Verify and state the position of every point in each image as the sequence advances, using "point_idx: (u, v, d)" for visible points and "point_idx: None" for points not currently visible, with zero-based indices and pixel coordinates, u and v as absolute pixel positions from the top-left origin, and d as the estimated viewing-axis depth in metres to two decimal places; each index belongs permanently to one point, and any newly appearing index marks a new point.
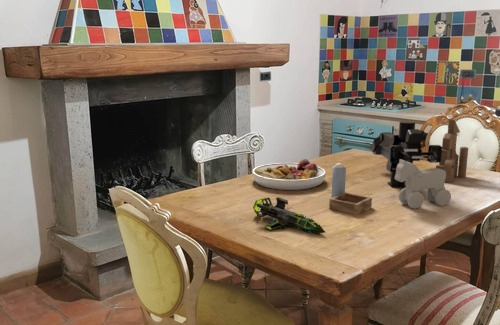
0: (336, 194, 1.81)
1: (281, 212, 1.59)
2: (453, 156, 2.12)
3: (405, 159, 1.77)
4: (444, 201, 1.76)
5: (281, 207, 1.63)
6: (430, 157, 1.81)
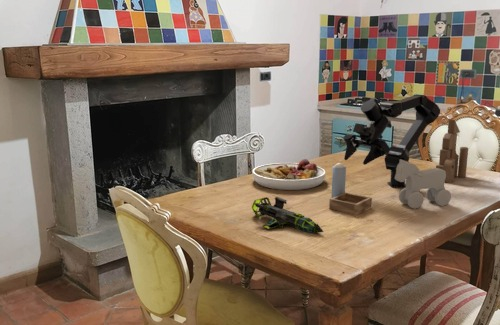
0: (336, 194, 1.81)
1: (279, 211, 1.59)
2: (453, 156, 2.12)
3: None
4: (444, 201, 1.76)
5: (279, 207, 1.64)
6: None
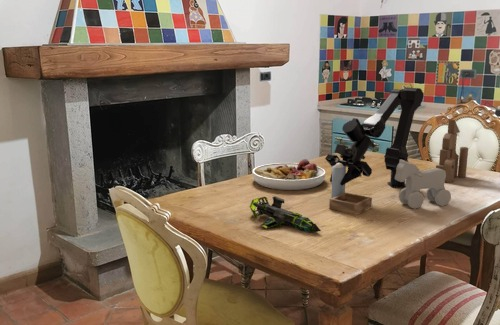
0: (336, 194, 1.81)
1: (277, 211, 1.60)
2: (453, 156, 2.12)
3: None
4: (444, 201, 1.76)
5: (277, 206, 1.64)
6: None
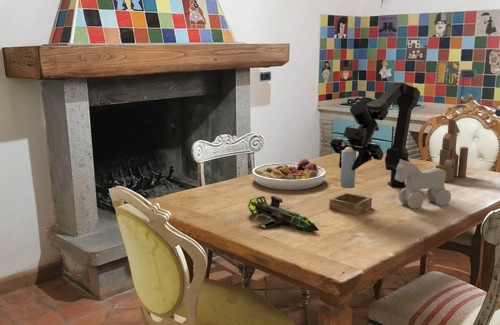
0: (346, 180, 1.72)
1: (275, 210, 1.60)
2: (453, 156, 2.12)
3: None
4: (444, 201, 1.76)
5: (275, 205, 1.65)
6: (363, 155, 1.73)
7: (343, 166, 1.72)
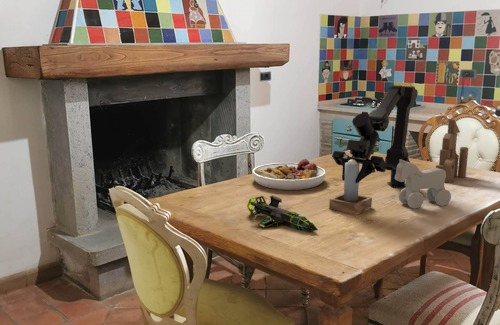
0: (350, 192, 1.71)
1: (274, 210, 1.61)
2: (453, 156, 2.12)
3: None
4: (444, 201, 1.76)
5: (275, 205, 1.65)
6: (366, 167, 1.73)
7: (347, 179, 1.71)
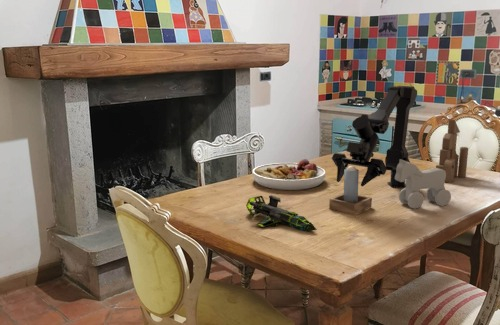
0: (350, 199, 1.72)
1: (273, 210, 1.61)
2: (453, 156, 2.12)
3: None
4: (444, 201, 1.76)
5: (274, 205, 1.66)
6: None
7: (346, 185, 1.71)
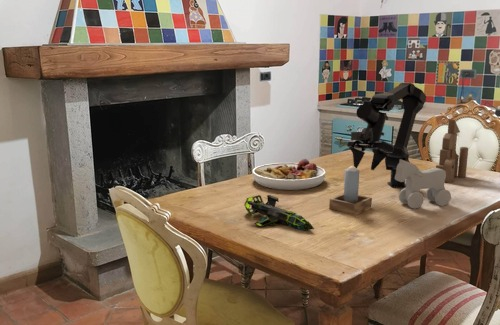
0: (350, 199, 1.72)
1: (271, 209, 1.62)
2: (453, 156, 2.12)
3: None
4: (444, 201, 1.76)
5: (272, 204, 1.66)
6: None
7: (346, 185, 1.71)
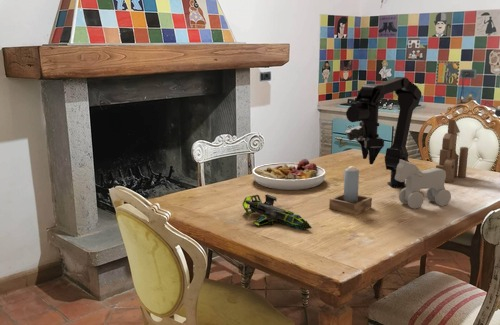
0: (350, 199, 1.72)
1: (269, 209, 1.62)
2: (453, 156, 2.12)
3: None
4: (444, 201, 1.76)
5: (270, 204, 1.67)
6: None
7: (346, 185, 1.71)
